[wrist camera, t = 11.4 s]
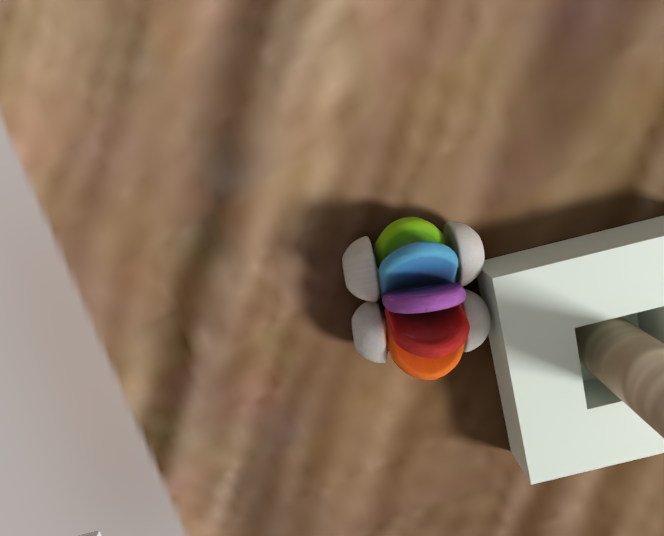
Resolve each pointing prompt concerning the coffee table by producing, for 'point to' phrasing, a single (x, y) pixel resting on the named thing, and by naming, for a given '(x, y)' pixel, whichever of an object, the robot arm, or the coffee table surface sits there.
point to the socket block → (571, 345)
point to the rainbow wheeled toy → (417, 295)
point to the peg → (626, 365)
